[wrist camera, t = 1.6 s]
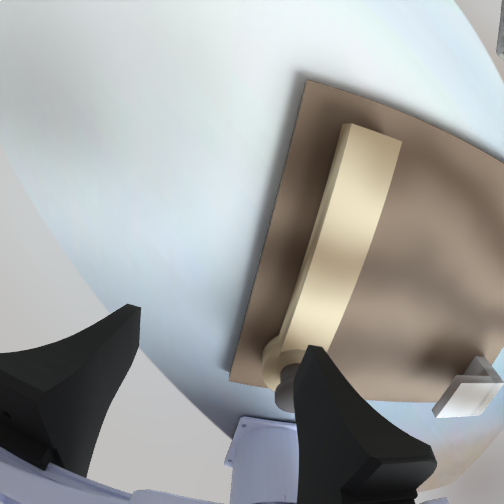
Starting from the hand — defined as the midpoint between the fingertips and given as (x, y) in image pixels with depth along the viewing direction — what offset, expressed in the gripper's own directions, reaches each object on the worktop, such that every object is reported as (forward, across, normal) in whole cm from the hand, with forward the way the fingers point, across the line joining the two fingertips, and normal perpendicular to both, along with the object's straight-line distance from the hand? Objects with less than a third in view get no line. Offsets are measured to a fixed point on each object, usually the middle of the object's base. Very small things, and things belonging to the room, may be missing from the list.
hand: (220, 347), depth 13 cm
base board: (+9, -14, -1) cm, 17 cm away
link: (+8, -5, -1) cm, 10 cm away
